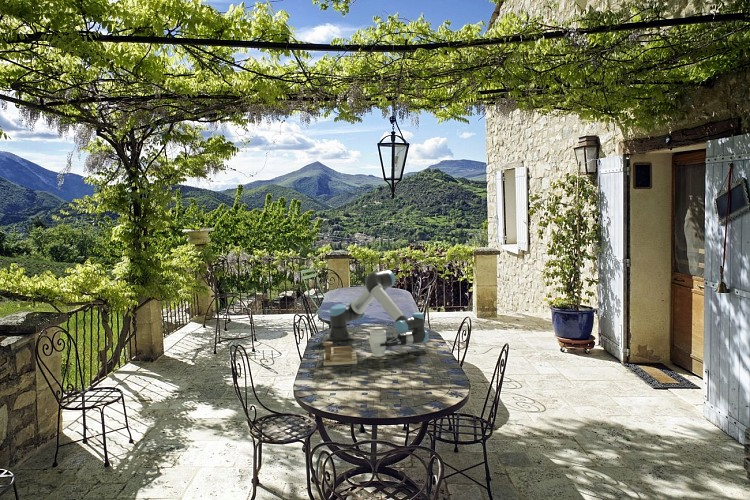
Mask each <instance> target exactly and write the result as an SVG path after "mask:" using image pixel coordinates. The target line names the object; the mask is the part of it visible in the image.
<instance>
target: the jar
mask: <svg viewBox="0 0 750 500" xmlns="http://www.w3.org/2000/svg"><path fill="white" fill-rule="evenodd" d="M369 334H370V335H369V339H370V343H369V344H370V350H371V352H372V354H371V356H372V357H375V358H377V357H379V358H380V357H385V356H386V353H385V352H386V349H387V347H386V346H384V347H377V348H375V343H379V342H385V341H386V336H387V335H386V334H387V331H386V330H385V329H373V330H370V331H369Z"/></svg>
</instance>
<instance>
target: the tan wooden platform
mask: <svg viewBox="0 0 750 500" xmlns="http://www.w3.org/2000/svg"><path fill="white" fill-rule="evenodd" d="M333 342H334V341H324V342H322V346H323V347H324V353H323V362H322V363H323V366H325V367H326V366H337V365H338V366H339V365H351V364H353V365H354V364H355V365H356V364H358V359H357V351H352V347H351V345H345V346H333V345H334V344H333Z"/></svg>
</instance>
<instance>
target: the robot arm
mask: <svg viewBox="0 0 750 500" xmlns="http://www.w3.org/2000/svg"><path fill="white" fill-rule="evenodd" d="M395 283H396V277H395V274H394V273H393V271H391V270H388V269H386V270H385V269H384V270H379V271H372V272H371V273H369V274H367V276H366V278H365V290H364V291H363V293H361V295H360V296H358V298H357V299H354V300H351V302H350V303H349V304H348V305H345V304H336V305H333V306H331V307H330V309H329V316H330V317H329V319H330V329H329V332H328V333H329V334H328V340H329V341H330V342H343V341H348V340H350V339H351V333H350V332H349V328H348V323H351V322H355V321H358V320H362V319H363V318H364V316H365V313H366V308H367V307H368V306H369V305H370V303H372V302H373V300H374V299H375V300H377V302H378V303H379V305H380V306H381V307H382V308H383V310H385V313H386V314H387V315H388V316H389V317H390V319H392V321H393V322H394V328H395V331H396V332H397V333H398V334H397V336H394V335H389V336H387V335H386V341H385V342H379V343H375V348H377V347H384V346H386V348H390V347H394V346H401V347H402V346H405V345H406V346H411V345H415V344H422V343H426V342H428V340H429V338H430V335H429V332H428V331H427V330H425V316H424V313H422V312H420V311H419V312H413V313H412V314H411V317H409V318H407V317H406V316H405V315H404V313H403V312H402V311H401V309H400V308H399V307H398V306H397V305H396V303H395V301H393V299H392V298H391V297H390V296H389V294H388V293H387V292H386V290H387V289H388V288H391V287H394V285H395ZM409 331H410V332H409ZM368 344H370V338H368Z"/></svg>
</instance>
